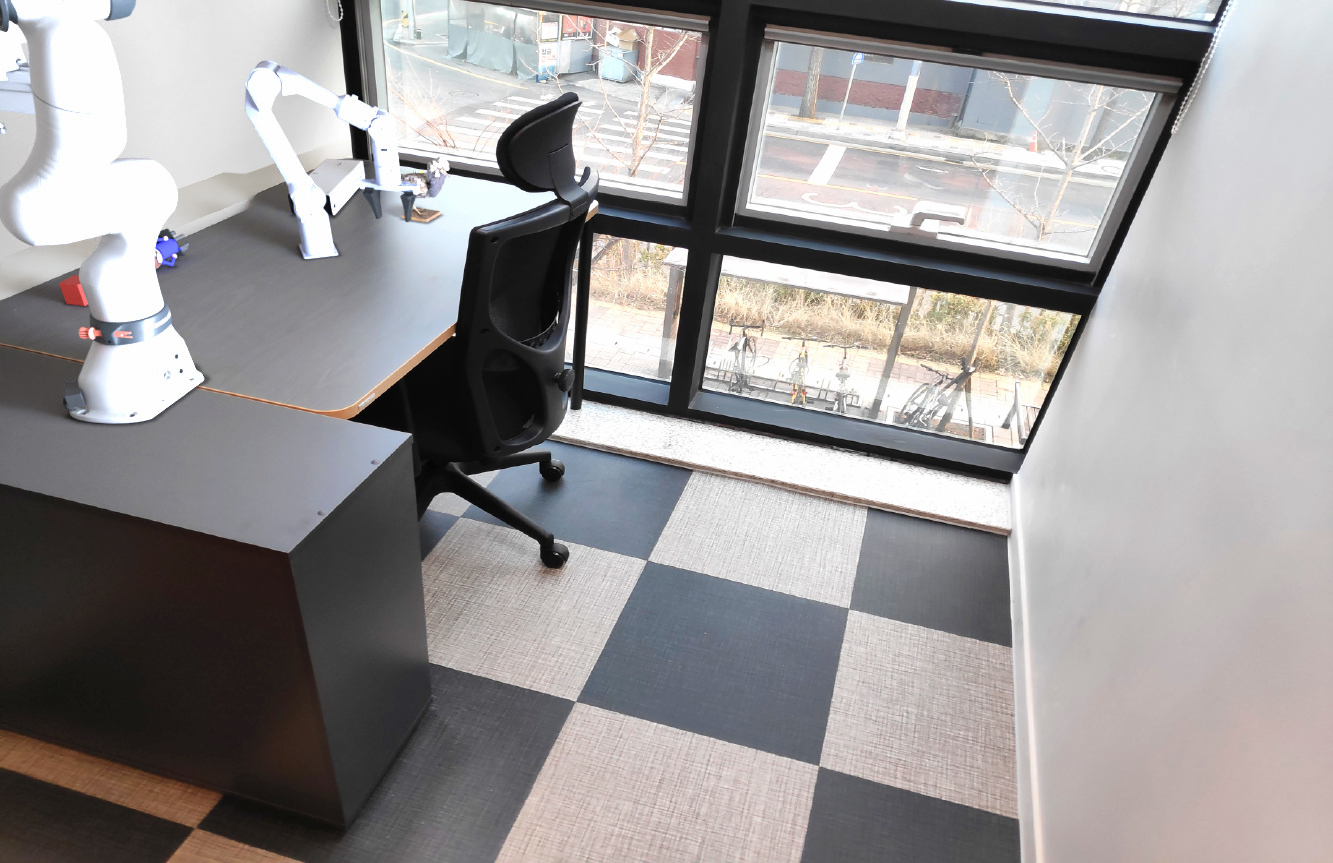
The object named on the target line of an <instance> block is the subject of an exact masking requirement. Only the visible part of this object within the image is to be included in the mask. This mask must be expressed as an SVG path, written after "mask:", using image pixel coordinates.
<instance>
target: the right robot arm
mask: <svg viewBox="0 0 1333 863" xmlns="http://www.w3.org/2000/svg"><path fill="white" fill-rule="evenodd" d="M244 88H245V99H244V111H245V114H246V115H247V117H248V119H249V121H250V123H251V124H252V125H253V127H254V129H255V131H256V132H257V135H258V136H259V138H260V139H261V141H262V143H263V145H264V146H265V148H266V150H267V152H268V153H269V155H270V157H271V159H272V161H273V162H274V164H275V165H276V168H277V169H278V171H279V173H280V174H281V176H282V178H283V180H284V182H285V183H286V185H287V189H288V193H290V197H291V198H292V200H293V203H294V211H295V213H296V214H295V215H296V222H297V227H298V231H299V236H300V242H301V243H299V244H298V247H299V250H300V252H301V255H302V257H303V259H305V260H308V259H319V258H326V257H335V256H339V253H338V250H337V248H336V247H335V244H334V242H333V236H332V230H331V224H330V219H329V215H328V214H327V213H326V212H325V210H324V209H323V207H324V205H325V202H326V196H325V194H324V192H323V191H322V190H321V189H320V188H319V187H317V186H316V185H315V184H314V182H313V180H312V179H311V178H310V177H309V176H308V175H309V174H308V173H307V172H306V171H305V169H304V167H303V165H302V164H301V161H300V159H298V156H297V154H296V152H295V150H293V148H292V146H291V143H290V142H289V140H288V138H287V136H286V134H285V133H284V131H283V129H282V128H281V125H280V124H279V123H278V121H277V118H276V117H275V115H274V114H273V111H272V107H273V105H274V101H275V99H276V97H277V95H278V94H279V93H280V91H281V93H282V94H281V95H282V96H289V95H296V94H297V95H300V96H302V97H305V98H307V99H309V100H312V101H314V102H316V103H318V104H321V105H323V106H325V107H327V108H329V109H331V110H333V111H334V113H335V116H336V117H337V118H338V119H340V120H342V121H344V122H346V123H348V124H350V125H352V126H354V127H356V128H358V129H360V130H362V131H365V132H366V131H367V132H368V133H369V135H370V137H371V141H372V142H371V144H372V145H371V149H372V157H373V163H374V164H373V165H374V173H375V178H365V179H361V180H360V181H359V185H360V188H359V189H361V190H363V191H362V196H363V197H364V198H365V200H366V201H367V202H368V203H369V205H370V207H371V210H372V212H373V214H374V217H375V219H376V220H380V219H381V218H382V217H383V211H382V204H381V191H389V192H399V193H402V194H401V195H400V196H399V198H400V200H401V203H402V207H403V208H402V209H403V214H404V216H405V219H404V221H405V223H410V221H412V220H411V215H412V209H414V207H413V205H414V204H415V201H416V199H417V198H416V196H417V194H418V193H419V192H420V188H419V184H412V183H408V182H404V181H401V177H400V174H401V170H400V160H399V152H398V145H397V139H396V136H395V133H396V122H395V119H394V117H393V116H392V114H391V113H389V112H387V110H386V109H383V108H382V109H381V108H380V109H379V107H378V106H375V105H374V106H371V105H369V104H367V103H365V102H363V101H361V100H359V99H358V98H359V96H357V95H355V94H352V95H350V94H347V93H346V94H342V95H337V94H336V93H335V92H332V91H331V90H328V89H327V88H326V87H323V86H322V85H320V84H318V83H316V82H314V81H313V80H311V79H309V78H307V77H305V76H303V75H301V74H300V73H298V72H296V71H294V70H292V69H291V68H289V67H287V66H285V65H280V64H279V63H277V62H275V61H273V60H267V59H266V60H261V61H259V62H258V63H257V64H256V66H255V67H254V69H252V70H251V71H250V73H249V75H248V77H247V79H246V81H245V83H244ZM414 206H415V205H414Z"/></svg>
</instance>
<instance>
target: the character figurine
mask: <svg viewBox="0 0 1333 863" xmlns="http://www.w3.org/2000/svg"><path fill="white" fill-rule="evenodd" d="M176 234H177V232H176V231H175V230H170V229H169V228H168V227H167V228H165V229H161V230H160V232H159V235H158V238H157V241H156V245H155V252H154V264H155V270H156V269H158V268H159V267H160V266H162V265H163V266H164V265H165V266H166V265H167V266H170V267H173V266H174V264H175V261H176V259H177V258H178V257H182V256H184V255H185V253H184V252H185V251H187V250H188V249H189V246H190V242H185V243H184V244H182V245H179V243H178V242H177V241H179V240H181V239H183V238H185V236H186V234H184V233H181V234H179V235H177V236H175V235H176ZM174 236H175V237H174Z"/></svg>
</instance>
